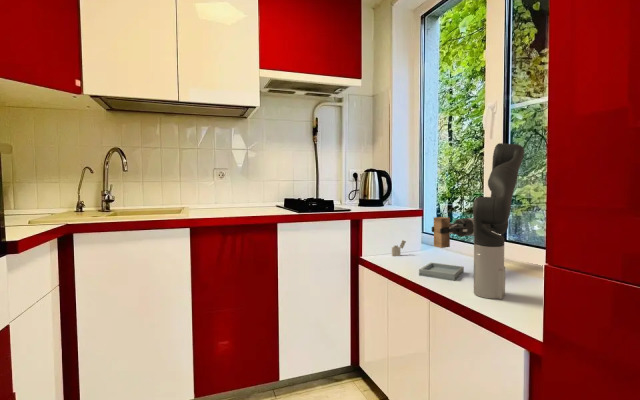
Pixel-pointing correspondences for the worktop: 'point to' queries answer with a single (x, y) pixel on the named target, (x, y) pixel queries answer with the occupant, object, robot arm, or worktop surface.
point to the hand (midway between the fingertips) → (436, 230)
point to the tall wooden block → (439, 238)
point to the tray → (441, 271)
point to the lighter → (397, 249)
